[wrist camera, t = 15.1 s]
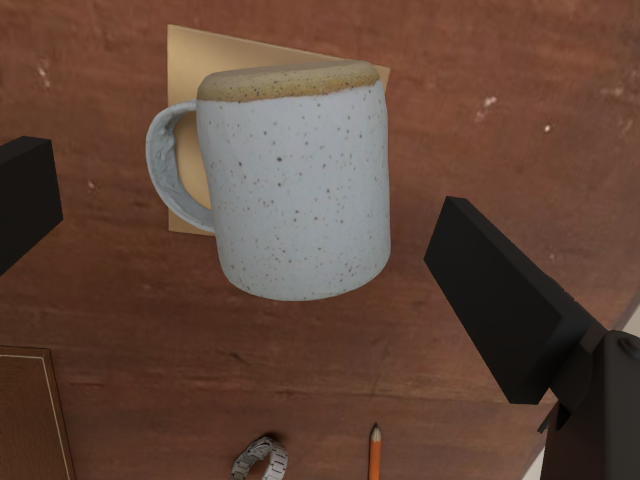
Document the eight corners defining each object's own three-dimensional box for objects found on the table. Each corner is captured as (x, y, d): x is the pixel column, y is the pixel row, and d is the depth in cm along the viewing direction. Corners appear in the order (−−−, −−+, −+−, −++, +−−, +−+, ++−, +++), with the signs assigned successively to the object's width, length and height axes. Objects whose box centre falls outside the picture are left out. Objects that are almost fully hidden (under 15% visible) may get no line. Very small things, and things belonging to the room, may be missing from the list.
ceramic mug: (367, 48, 17) (416, 61, 10) (372, 213, 21) (409, 299, 14) (131, 73, 17) (28, 103, 10) (181, 234, 21) (129, 331, 14)
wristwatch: (220, 460, 32) (211, 528, 28) (265, 420, 30) (261, 486, 26) (255, 473, 34) (250, 540, 29) (299, 436, 32) (302, 501, 27)
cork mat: (171, 23, 17) (166, 23, 16) (387, 66, 18) (391, 67, 18) (171, 225, 22) (168, 231, 21) (344, 245, 23) (346, 252, 22)
